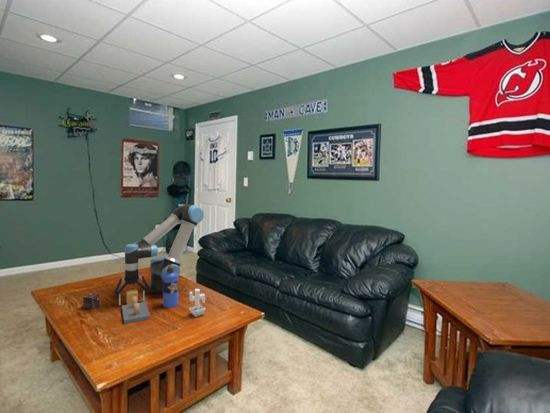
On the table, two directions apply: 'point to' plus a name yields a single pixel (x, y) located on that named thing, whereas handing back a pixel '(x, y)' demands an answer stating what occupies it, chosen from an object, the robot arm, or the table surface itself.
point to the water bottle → (170, 288)
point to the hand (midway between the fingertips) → (132, 302)
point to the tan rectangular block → (131, 294)
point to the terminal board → (135, 317)
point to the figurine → (197, 303)
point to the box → (91, 301)
